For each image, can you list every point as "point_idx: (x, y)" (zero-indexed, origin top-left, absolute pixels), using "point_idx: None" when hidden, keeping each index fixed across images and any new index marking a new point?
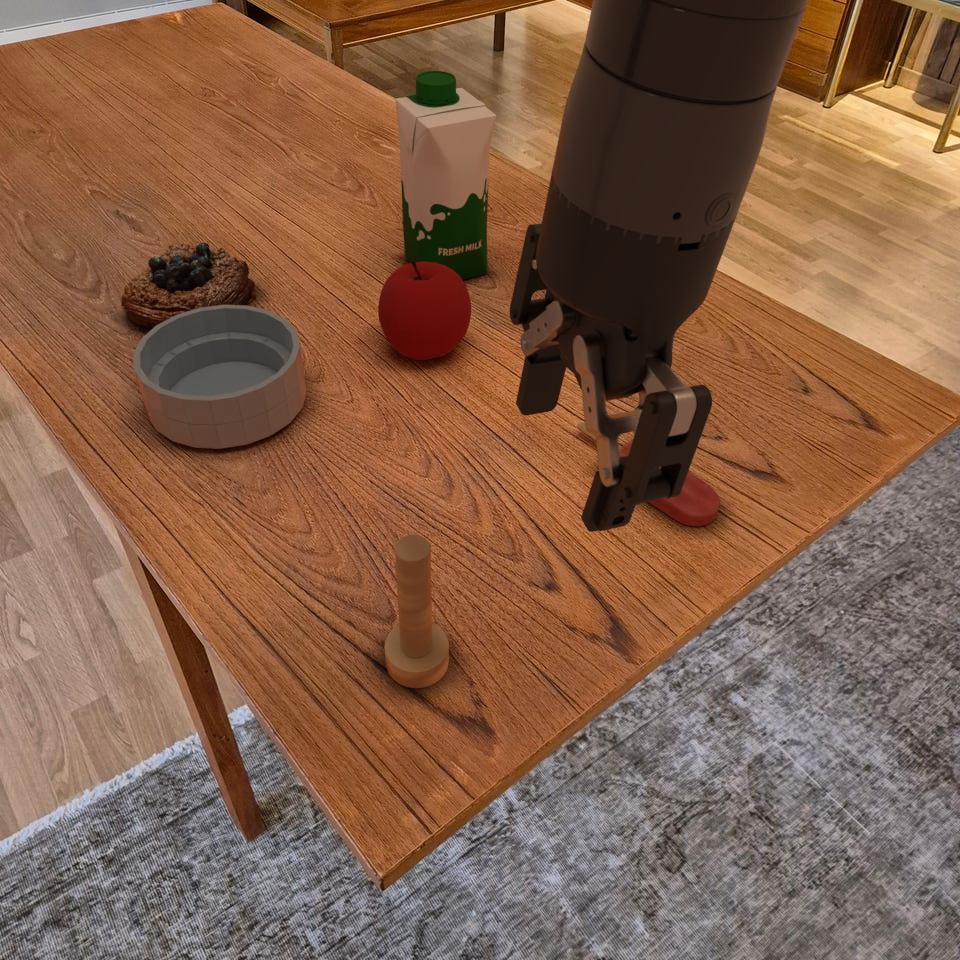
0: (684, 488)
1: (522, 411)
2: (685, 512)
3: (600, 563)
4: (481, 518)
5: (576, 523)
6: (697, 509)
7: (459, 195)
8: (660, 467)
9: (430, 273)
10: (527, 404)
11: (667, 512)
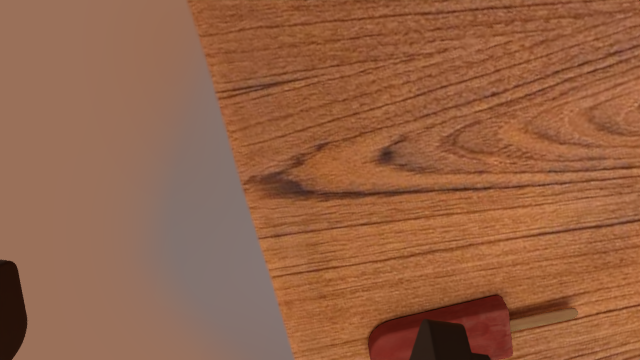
0: None
1: (425, 326)
2: (386, 336)
3: (384, 222)
4: (528, 135)
5: (451, 230)
6: (382, 347)
7: None
8: None
9: None
10: (428, 354)
11: (403, 319)
